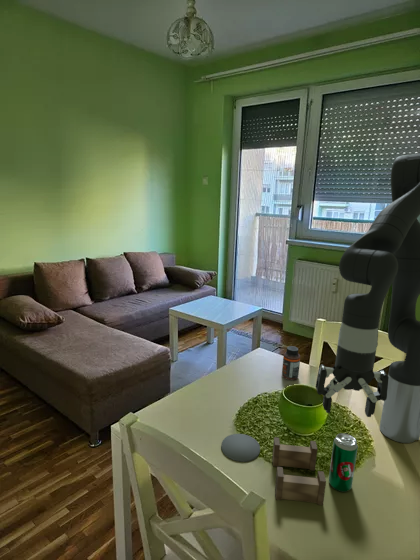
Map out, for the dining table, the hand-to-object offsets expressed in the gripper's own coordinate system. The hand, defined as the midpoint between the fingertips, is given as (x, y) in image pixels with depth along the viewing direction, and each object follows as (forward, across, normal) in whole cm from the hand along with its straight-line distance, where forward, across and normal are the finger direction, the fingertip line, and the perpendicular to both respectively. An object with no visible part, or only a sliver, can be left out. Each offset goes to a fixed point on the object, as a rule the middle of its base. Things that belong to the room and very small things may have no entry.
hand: (347, 412), depth 79 cm
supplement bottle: (+18, +6, -50) cm, 53 cm away
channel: (+18, +10, +1) cm, 21 cm away
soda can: (+18, 0, 0) cm, 19 cm away
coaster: (+18, +23, -8) cm, 30 cm away
